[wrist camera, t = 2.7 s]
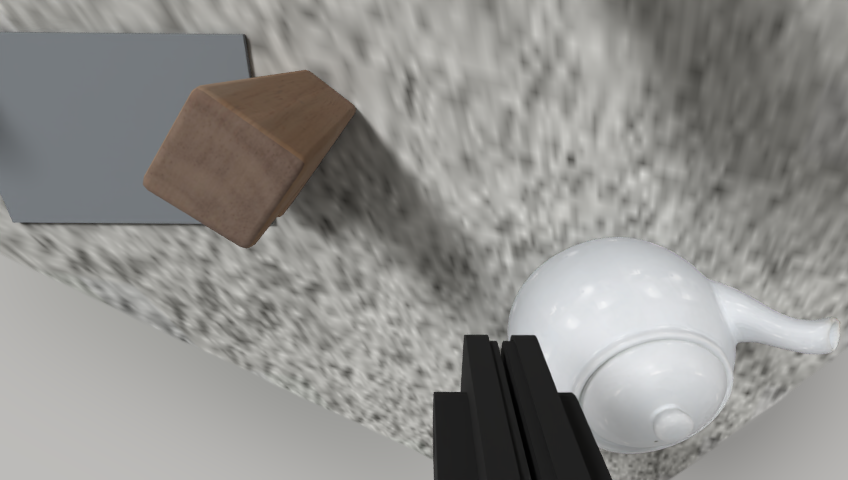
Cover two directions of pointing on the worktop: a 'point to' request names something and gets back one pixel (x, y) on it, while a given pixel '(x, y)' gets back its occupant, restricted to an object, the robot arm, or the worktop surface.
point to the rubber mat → (98, 118)
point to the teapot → (647, 338)
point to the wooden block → (247, 150)
